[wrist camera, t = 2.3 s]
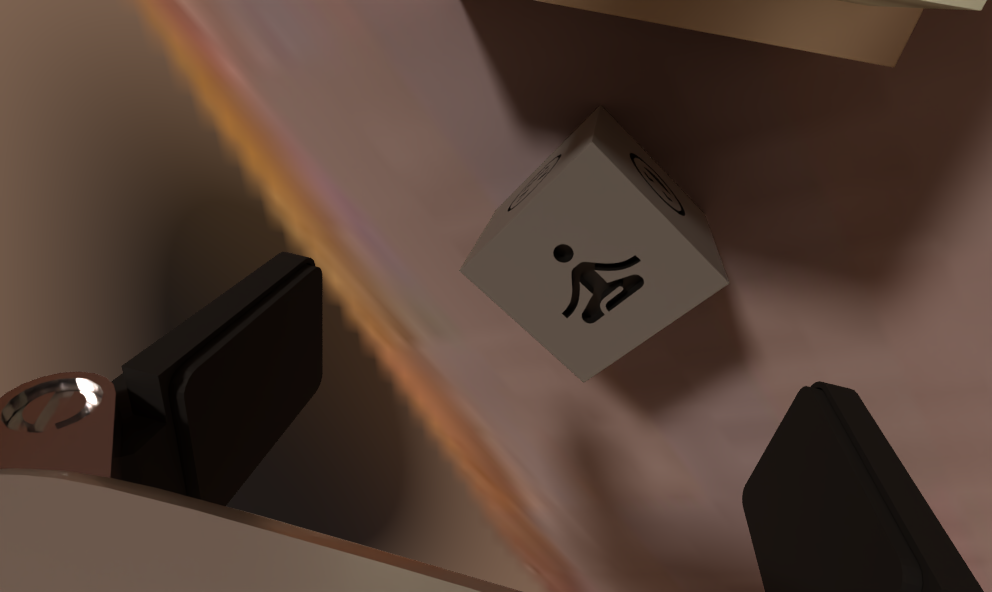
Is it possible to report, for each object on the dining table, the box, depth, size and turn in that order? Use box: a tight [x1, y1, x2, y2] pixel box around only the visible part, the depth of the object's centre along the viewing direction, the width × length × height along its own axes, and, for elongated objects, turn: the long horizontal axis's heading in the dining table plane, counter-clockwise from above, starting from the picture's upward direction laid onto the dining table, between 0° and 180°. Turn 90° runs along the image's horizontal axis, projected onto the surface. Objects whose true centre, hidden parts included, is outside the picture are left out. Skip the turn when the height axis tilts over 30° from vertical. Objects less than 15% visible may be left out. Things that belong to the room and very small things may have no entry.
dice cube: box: [459, 105, 729, 382], centre depth 16 cm, size 5×5×5 cm
